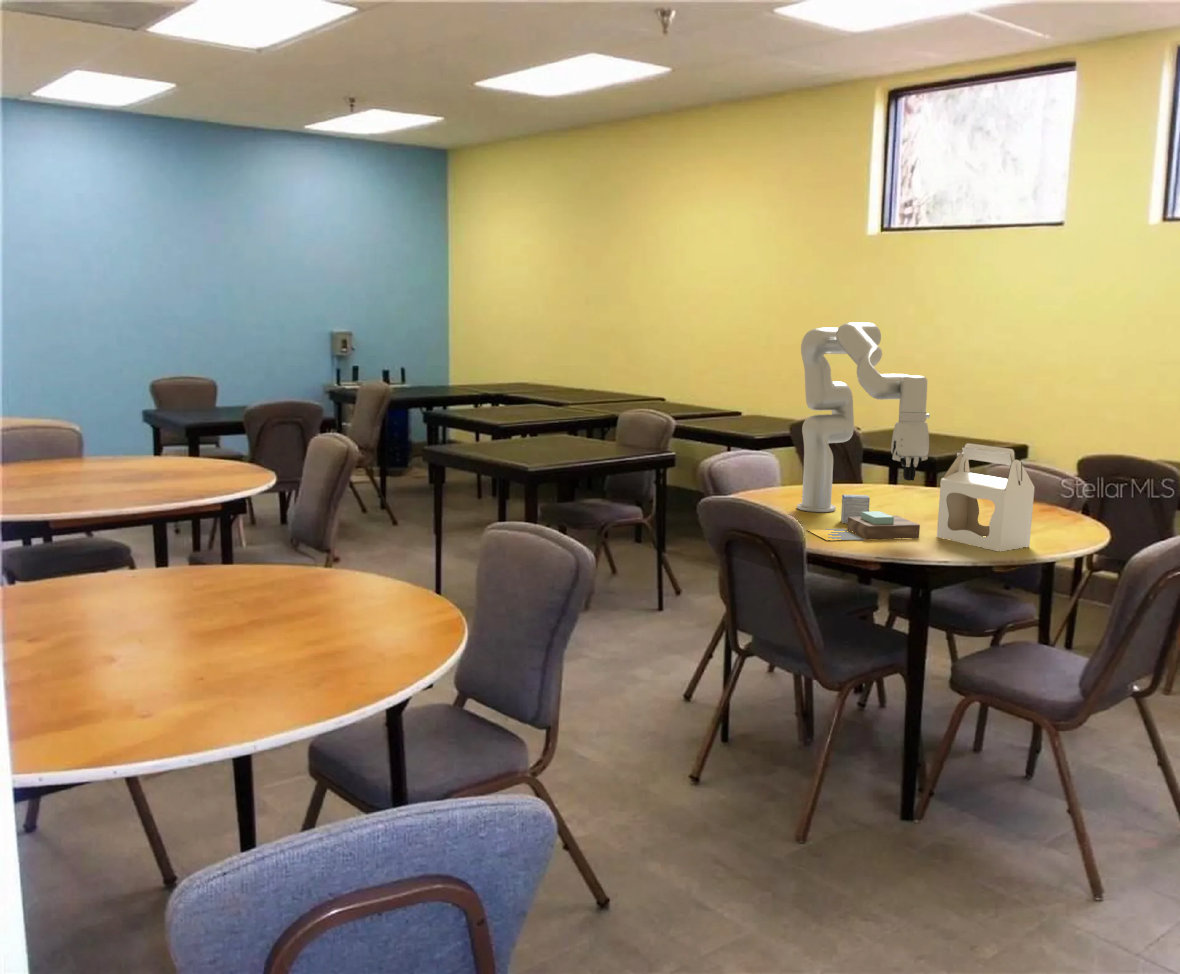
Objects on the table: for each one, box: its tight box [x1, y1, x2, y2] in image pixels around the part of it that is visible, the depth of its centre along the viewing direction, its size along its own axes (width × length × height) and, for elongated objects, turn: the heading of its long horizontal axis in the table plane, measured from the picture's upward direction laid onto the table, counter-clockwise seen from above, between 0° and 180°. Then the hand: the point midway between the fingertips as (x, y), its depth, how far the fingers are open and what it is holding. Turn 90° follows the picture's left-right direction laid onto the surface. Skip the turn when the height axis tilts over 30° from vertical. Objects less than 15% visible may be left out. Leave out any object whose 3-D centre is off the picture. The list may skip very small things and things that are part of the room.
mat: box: [824, 528, 867, 541], centre depth 302 cm, size 15×12×1 cm
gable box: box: [936, 442, 1036, 553], centre depth 293 cm, size 22×13×28 cm, turn 32°
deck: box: [846, 515, 921, 540], centre depth 304 cm, size 14×16×4 cm
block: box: [861, 510, 894, 524], centre depth 303 cm, size 9×6×2 cm, turn 11°
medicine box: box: [840, 493, 871, 525], centre depth 320 cm, size 8×4×9 cm, turn 84°
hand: (908, 479), depth 303 cm, fingers closed
